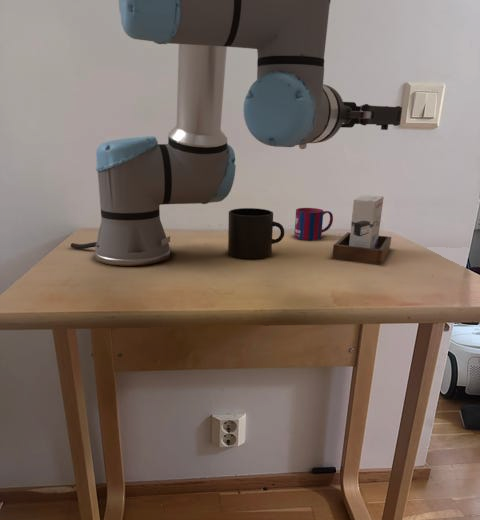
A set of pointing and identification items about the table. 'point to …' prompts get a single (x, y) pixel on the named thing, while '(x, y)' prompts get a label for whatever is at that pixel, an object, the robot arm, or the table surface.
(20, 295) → the table surface
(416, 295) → the table surface
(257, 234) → the mug
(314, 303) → the table surface
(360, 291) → the table surface
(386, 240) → the wooden tray
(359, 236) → the ink box
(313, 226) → the cup
